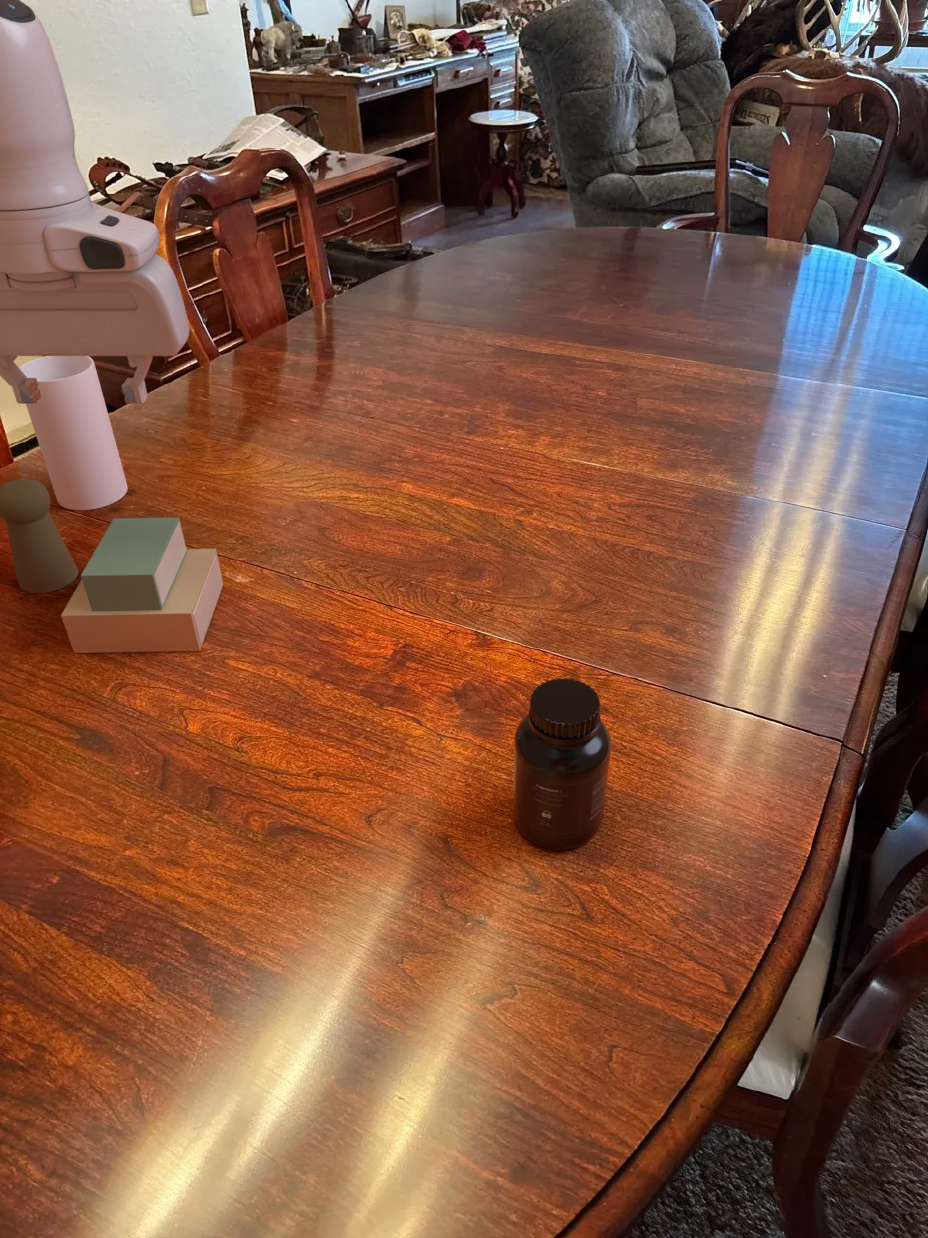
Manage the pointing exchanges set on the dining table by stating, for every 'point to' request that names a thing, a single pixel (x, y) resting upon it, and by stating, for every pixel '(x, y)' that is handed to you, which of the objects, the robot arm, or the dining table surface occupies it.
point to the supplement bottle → (561, 766)
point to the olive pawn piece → (35, 538)
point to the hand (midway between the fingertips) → (83, 401)
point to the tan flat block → (151, 614)
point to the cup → (75, 432)
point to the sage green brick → (135, 564)
